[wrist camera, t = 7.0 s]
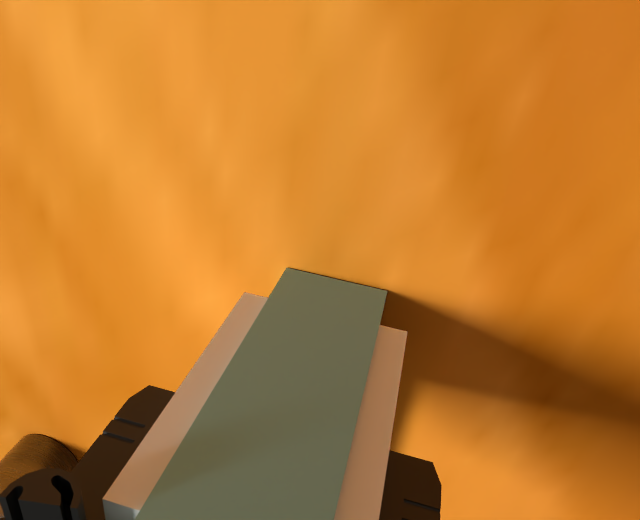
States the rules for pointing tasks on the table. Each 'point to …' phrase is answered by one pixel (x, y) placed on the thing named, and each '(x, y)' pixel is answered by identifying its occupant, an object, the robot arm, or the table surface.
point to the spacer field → (33, 459)
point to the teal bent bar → (279, 410)
